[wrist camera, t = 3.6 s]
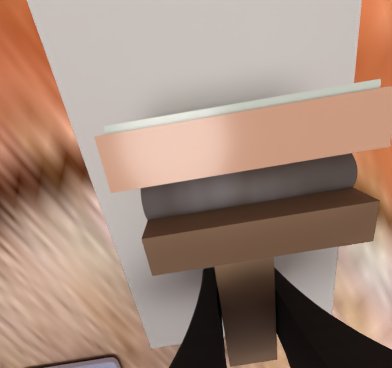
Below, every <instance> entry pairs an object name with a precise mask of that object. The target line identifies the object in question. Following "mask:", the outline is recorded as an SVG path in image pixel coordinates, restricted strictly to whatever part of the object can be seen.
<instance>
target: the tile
mask: <svg viewBox="0 0 392 368" xmlns="http://www.w3.org/2000/svg"><path fill="white" fill-rule="evenodd" d="M380 84H381V79H377V80H371V81H365V82H359V83H353V84H348V85H342V86H336V87H330V88H324V89H318V90H312V91H307V92H301V93H295V94H289V95H283V96H277V97H271V98H266V99H260V100H254V101H248V102H242V103H236V104H230V105H225V106H219V107H213V108H207V109H201V110H195V111H189V112H183V113H178V114H172V115H166V116H160V117H154V118H148V119H142V120H137V121H131V122H125V123H119V124H113V125H107V126H104V130H105V133H106V135H101V136H95V137H94V138H95V141H96V145H97V148H98V151H99V155H100V158H101V162H102V165H103V168H104V172H105V175H106V179H107V182H108V185H109V189H110V192H111V193H115V192H121V191H127V190H133V189H139V188H145V187H151V186H157V185H163V184H169V183H175V182H181V181H187V180H193V179H199V178H205V177H211V176H217V175H223V174H229V173H235V172H241V171H247V170H253V169H259V168H265V167H271V166H277V165H283V164H289V163H295V162H301V161H307V160H313V159H319V158H325V157H331V156H337V155H343V154H349V153H355V152H361V151H367V150H373V149H379V148H385V147H390V146H391V136H392V86H389V87H383V88H380Z"/></svg>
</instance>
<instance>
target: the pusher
mask: <svg viewBox="0 0 392 368" xmlns="http://www.w3.org/2000/svg"><path fill="white" fill-rule="evenodd" d="M356 179H357V165H356V161H355V159H354V157H353V155H352V153H349V154H343V155H337V156H331V157H325V158H319V159H313V160H307V161H301V162H295V163H289V164H283V165H277V166H271V167H265V168H259V169H253V170H247V171H241V172H235V173H229V174H223V175H217V176H211V177H205V178H199V179H193V180H187V181H181V182H175V183H169V184H163V185H157V186H151V187H145V188H141V201H142V206H143V210H144V214H145V216H146V218H147V220H148V221H147V224H146V227H145V230H144V233H143V236H142V243H143V246H144V250H145V253H146V256H147V260H148V263H149V267H150V270H151V274H152V276H156V275H162V274H169V273H175V272H181V271H188V270H194V269H200V268H206V267H213V266H214V270H215V276H216V282H217V288H218V294H219V301H220V307H221V313H222V321H223V327H224V333H225V338H226V344H227V350H228V356H229V362H230V367H231V366H238V365H244V364H251V363H257V362H264V361H270V360H277V338H276V306H275V275H274V257H276V256H282V255H288V254H295V253H301V252H307V251H313V250H320V249H326V248H332V247H339V246H345V245H351V244H358V243H364V242H370V241H373V239H374V233H375V227H376V221H377V215H378V210H379V204H380V201H379V200H377V199H375V198H373V197H371V196H369V195H367V194H365V193H363V192H361V191H359V190H357V189H355V188H353V186H354V184H355V182H356Z"/></svg>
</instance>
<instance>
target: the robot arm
mask: <svg viewBox="0 0 392 368" xmlns="http://www.w3.org/2000/svg"><path fill="white" fill-rule="evenodd" d="M274 275H275V306H276V333H277V335H278V337H279V339H280V342H281V344H282V346H283V349H284V351H285V353H286V356H287V359H288V362H289V365H290V367H291V368H392V350H391V349H389V348H387V347H385V346H383V345H382V344H380V343H378V342H376V341H374V340H372V339H370V338H368V337H367V336H365V335H363V334H361V333H359V332H358V331H356V330H354V329H353V328H351V327H349V326H348V325H346V324H345V323H343V322H341V321H340V320H338V319H337V318H335V317H334V316H332V315H331V314H329V313H328V312H326V311H325V310H324V309H322V308H321V307H320V306H318V305H317V304H315V303H314V302H313V301H312V300H310V299H309V298H308V297H307V296H305V295H304V294H303V293H302V292H301V291H299V290H298V289H297V288H296V287H295V286H294V285H293V284H292V283H290V282H289V281H288V280H287V279H286V278H285V277H284V276H283V275H282V274H281V273H280V272H279V271H278V270H277V269H276V268H275V267H274ZM45 368H121V367H120V365H119V363H118V361H117V359H116V358H113V357H109V358H102V359H96V360H90V361H83V362H77V363H71V364H64V365H58V366H52V367H45ZM169 368H227V366H226V358H225V348H224V337H223V325H222V313H221V307H220V301H219V294H218V288H217V282H216V276H215V270H214V267H210V268H204V269H203V275H202V283H201V288H200V292H199V296H198V300H197V304H196V307H195V310H194V314H193V316H192V319H191V322H190V325H189V327H188V330H187V332H186V334H185V337H184V339H183V341H182V344H181V346H180V348H179V350H178V352H177V354H176V356H175V357H174V359H173V361H172V363H171V365H170V367H169Z"/></svg>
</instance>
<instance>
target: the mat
mask: <svg viewBox="0 0 392 368" xmlns="http://www.w3.org/2000/svg"><path fill="white" fill-rule="evenodd" d="M27 2H28V5H29V7H30V10H31V13H32V16H33V19H34V21H35V24H36V27H37V30H38V33H39V35H40V38H41V41H42V44H43V47H44V50H45V52H46V55H47V58H48V61H49V64H50V66H51V69H52V72H53V75H54V78H55V80H56V83H57V86H58V89H59V92H60V94H61V97H62V100H63V103H64V106H65V108H66V111H67V114H68V117H69V120H70V122H71V125H72V128H73V131H74V134H75V136H76V139H77V142H78V145H79V148H80V150H81V153H82V156H83V159H84V162H85V164H86V167H87V170H88V173H89V176H90V178H91V181H92V184H93V187H94V190H95V192H96V195H97V198H98V201H99V204H100V206H101V209H102V212H103V215H104V218H105V220H106V223H107V226H108V229H109V232H110V234H111V237H112V240H113V243H114V246H115V248H116V251H117V254H118V257H119V260H120V262H121V265H122V268H123V271H124V274H125V276H126V279H127V282H128V285H129V288H130V290H131V293H132V296H133V299H134V302H135V304H136V307H137V310H138V313H139V316H140V318H141V321H142V324H143V327H144V330H145V332H146V335H147V338H148V341H149V344H150V346H151V349H153V348H159V347H165V346H172V345H178V344H182V341H183V339H184V337H185V334H186V332H187V330H188V327H189V325H190V322H191V319H192V316H193V314H194V310H195V307H196V304H197V300H198V296H199V292H200V288H201V283H202V275H203V269H204V268H200V269H194V270H188V271H181V272H175V273H169V274H162V275H156V276H152V274H151V270H150V267H149V263H148V260H147V256H146V253H145V250H144V246H143V243H142V236H143V233H144V230H145V227H146V224H147V221H148V220H147V218H146V216H145V214H144V210H143V206H142V201H141V188H139V189H133V190H127V191H121V192H115V193H111V192H110V189H109V185H108V182H107V179H106V175H105V172H104V168H103V165H102V162H101V158H100V155H99V151H98V148H97V145H96V141H95V138H94V137H95V136H101V135H106V133H105V130H104V126H107V125H113V124H119V123H125V122H131V121H137V120H142V119H148V118H154V117H160V116H166V115H172V114H178V113H183V112H189V111H195V110H201V109H207V108H213V107H219V106H225V105H230V104H236V103H242V102H248V101H254V100H260V99H266V98H271V97H277V96H283V95H289V94H295V93H301V92H307V91H312V90H318V89H324V88H330V87H336V86H342V85H348V84H353V83H354V76H355V65H356V55H357V44H358V34H359V23H360V13H361V2H362V0H27ZM337 254H338V247H332V248H326V249H320V250H313V251H307V252H301V253H295V254H288V255H282V256H276V257H274V267H275V268H276V269H277V270H278V271H279V272H280V273H281V274H282V275H283V276H284V277H285V278H286V279H287V280H288V281H289V282H290V283H292V284H293V285H294V286H295V287H296V288H297V289H298V290H299V291H301V292H302V293H303V294H304V295H305V296H307V297H308V298H309V299H310V300H312V301H313V302H314V303H315V304H317V305H318V306H320V307H321V308H322V309H324V310H325V311H326V312H328V313H329V314H331V315H332V307H333V296H334V286H335V275H336V265H337ZM213 267H214V266H213ZM206 268H210V267H206ZM222 325H223V321H222ZM223 337H225V333H224V327H223Z"/></svg>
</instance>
